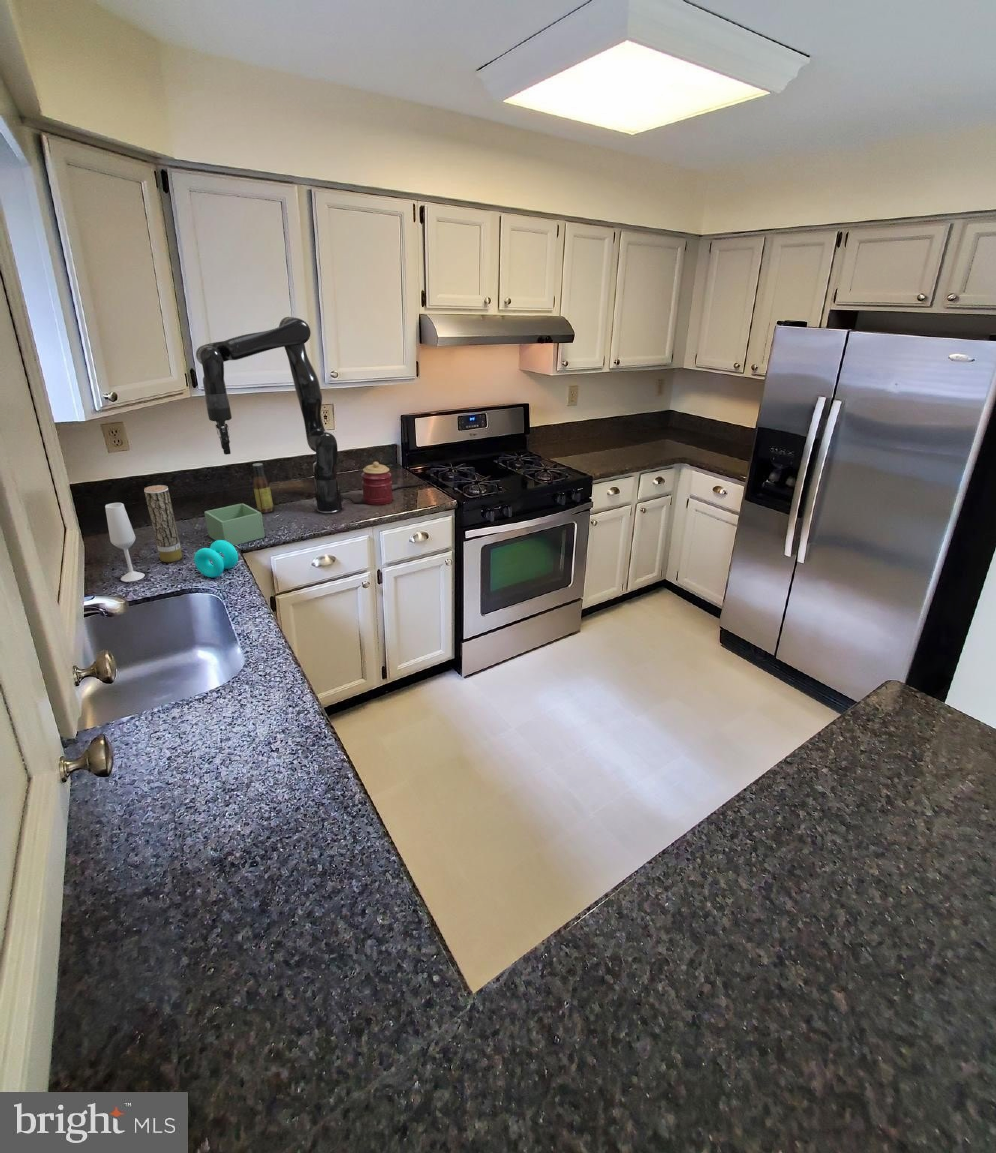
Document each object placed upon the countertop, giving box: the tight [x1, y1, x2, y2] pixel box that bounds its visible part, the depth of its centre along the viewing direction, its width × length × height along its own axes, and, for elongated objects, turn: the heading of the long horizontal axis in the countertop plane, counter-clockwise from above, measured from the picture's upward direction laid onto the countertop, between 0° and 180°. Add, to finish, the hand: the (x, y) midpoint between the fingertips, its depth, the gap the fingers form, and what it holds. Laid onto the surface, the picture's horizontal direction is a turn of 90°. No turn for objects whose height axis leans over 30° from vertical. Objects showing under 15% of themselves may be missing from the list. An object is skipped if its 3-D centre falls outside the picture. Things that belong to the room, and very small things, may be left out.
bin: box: [204, 503, 266, 547], centre depth 220 cm, size 15×15×10 cm
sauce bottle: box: [251, 462, 274, 514], centre depth 243 cm, size 6×6×20 cm
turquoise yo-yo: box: [193, 540, 239, 578], centre depth 193 cm, size 10×10×10 cm
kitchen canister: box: [361, 461, 394, 506], centre depth 261 cm, size 13×13×18 cm
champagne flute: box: [104, 502, 146, 583], centre depth 184 cm, size 7×7×24 cm
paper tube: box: [143, 484, 183, 563], centre depth 197 cm, size 7×7×25 cm
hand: (226, 451), depth 217 cm, fingers open, 8 cm apart
